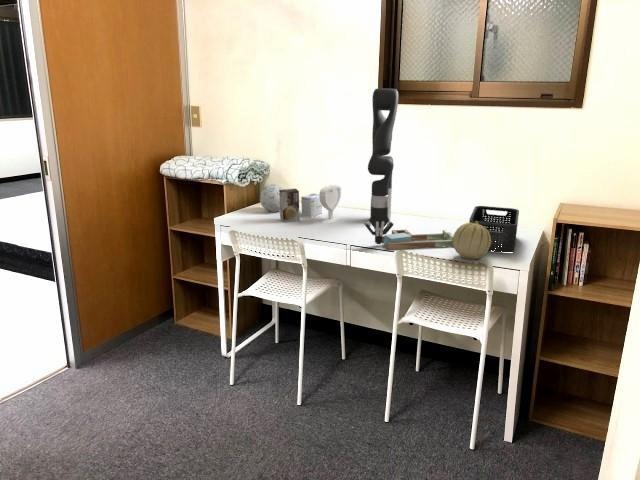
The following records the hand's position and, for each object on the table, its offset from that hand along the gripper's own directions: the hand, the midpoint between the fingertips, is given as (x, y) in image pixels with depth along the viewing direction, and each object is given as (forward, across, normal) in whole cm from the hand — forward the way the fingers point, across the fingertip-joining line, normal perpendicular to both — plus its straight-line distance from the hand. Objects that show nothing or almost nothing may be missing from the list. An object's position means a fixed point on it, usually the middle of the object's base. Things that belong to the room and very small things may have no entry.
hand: (378, 243), depth 221 cm
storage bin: (+1, -51, +4) cm, 51 cm away
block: (+1, -9, 0) cm, 9 cm away
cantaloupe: (+1, -33, +21) cm, 39 cm away
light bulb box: (+1, +22, -59) cm, 63 cm away
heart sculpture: (+1, +14, -46) cm, 48 cm away
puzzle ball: (+1, +42, -70) cm, 82 cm away
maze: (+1, -18, -4) cm, 19 cm away
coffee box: (+1, +34, -49) cm, 60 cm away
